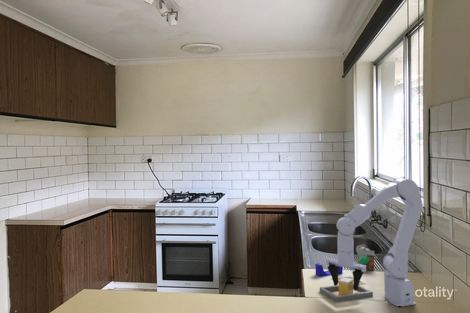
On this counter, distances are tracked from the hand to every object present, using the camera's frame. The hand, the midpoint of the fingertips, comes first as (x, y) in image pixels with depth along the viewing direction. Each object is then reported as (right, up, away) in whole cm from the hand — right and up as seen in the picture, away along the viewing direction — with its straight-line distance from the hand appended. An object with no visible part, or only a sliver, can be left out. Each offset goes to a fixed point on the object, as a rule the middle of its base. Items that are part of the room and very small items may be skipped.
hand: (345, 287), depth 125 cm
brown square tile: (+5, -4, +13) cm, 15 cm away
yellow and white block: (0, -3, 0) cm, 3 cm away
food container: (+19, -5, +33) cm, 39 cm away
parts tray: (0, -3, 0) cm, 3 cm away
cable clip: (0, -5, +23) cm, 24 cm away
